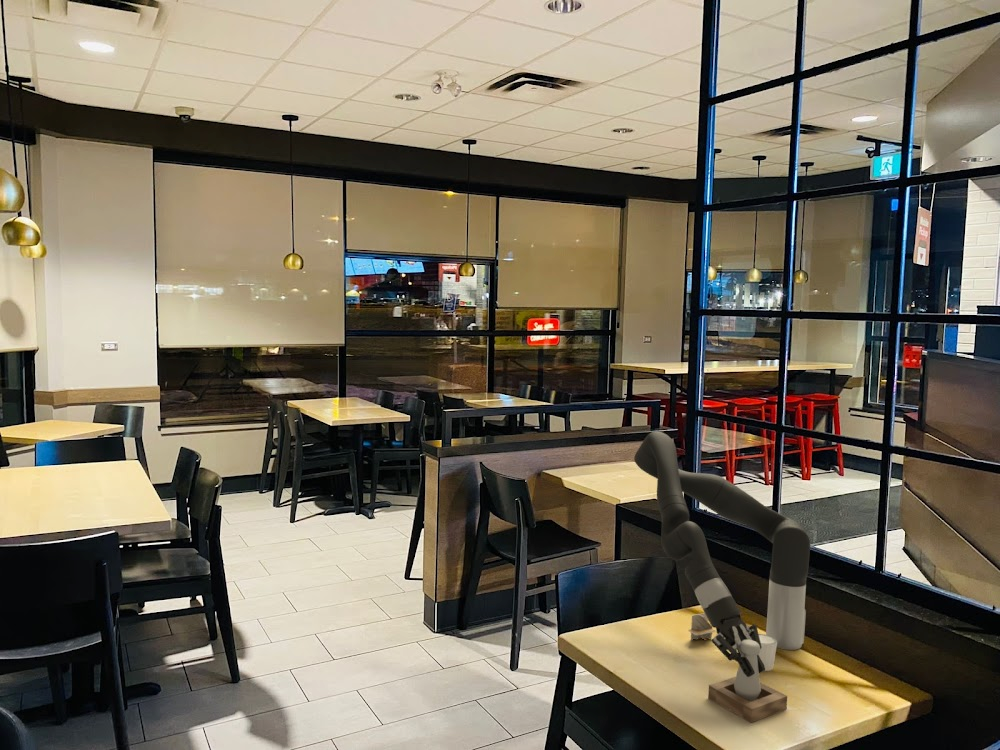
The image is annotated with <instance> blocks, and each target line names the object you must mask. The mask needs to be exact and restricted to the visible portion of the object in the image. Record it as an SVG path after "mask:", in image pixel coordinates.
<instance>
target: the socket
mask: <svg viewBox="0 0 1000 750" xmlns="http://www.w3.org/2000/svg"><path fill="white" fill-rule="evenodd" d="M735 678H736V676H733V677H731V678H727V679H724V680H721V681H718V682H715V683H712V684H709V685H708V693H707V694H708V696H707V697H708V699H709V700H711V701H713V702H715V703H716V704H718V705H720V706H721V707H723V708H725V709H727V710H729V711H730V712H732V713H734V714H736V716H738V717H740V718H743V719H744V720H746V721H748V722H749V723H753V722H757V721H760V720H762V719H764V718H767V717H769V716H772V715H774V714H777V713H780V712H782V711H784V710H787V705H788V704H787V703H788V695H786V694H785V693H783V692H780V691H779V690H776V689H775V688H773V687H771V686H769V685H766V684H765V683H763V682H761V681H760V687H761V692H760V694H759V696H758V697H757V699H756V700H755V701H752V702H749V701H747V700H745V699H744V698H742V697H740V696H738V695H737V694H736V692H735V688H734V682H735Z"/></svg>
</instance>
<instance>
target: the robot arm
mask: <svg viewBox="0 0 1000 750" xmlns="http://www.w3.org/2000/svg"><path fill="white" fill-rule="evenodd" d="M677 454H678V453H677V447H676V444H675V442H674V440H673V439H672V438H671V437H670V436H669V435H668V434H666V433H665V432H662V431H658V430H657V431H655V430H654V431H651V432H650V433H648V434H647V435H646V437H645V438H644V439H643V441H642V442H641V444H640V446H639V447H638V449H637V451H636V452H635V454H634V462H635V465H636V466H637V467H638V468H639V469H640V470H642V471H644V473H646V474H648V475H650V476H651V477H653V478H655V479H657V482H656V501H657V506H658V509H659V513H660V516H661V535H660V541H661V546H662V549H663V551H664V553H665V555H666V556H667V557H668V558H669V559H671V560H673V561H678V562H679V561H682V560H684V559H685V558H687V557H688V556H690V555H691V554H692V558H691V560H690V562H689V563H688V564H687V566H685V568H684V575H685V577H686V578H687V580H688V582H689V584H690V586H691V587H692V588H691V589H692V590H693V592H694V594H695V597H696V598H697V601H698V603H699V606H701V609H702V610H703V613H705V614H706V616H707V618H708V621H709V622H708V623H709V624H710V625H712V628H713V629H714V628H715V630H716V635H715V636H714V637H712V639H711V642H712V644H713V645H714V646H715V647H716V648H717V649H718V651H720V652H721V653H722V654H723V656H724V657H726V659H727V660H728V661H735V662H737V663H738V666H739V665H740V667H741V668H742V670H743V672H744V674H745V675H746V676H747V677H750V676H752V675H754V674H755V671H754V670H753V668H752V666H751V664H750V662H749V660H748V659H747V658H745V654H744V653H743V652H742V651H741V648H740V646H741V642H742V641H743V640H753V641H756V642H757V643H758V644H759V646H760V649H761V648H762V647H761V642H760V638H759V634H760V633H759V632H758V627H757V625H756V624H755V623H754V624H752V625H748V624H747V623H746V622H745V621H744V620H743V619H742V618H741V614H742V611H741V610H740V608H739V606H738V604H737V603H736V601H735V599H734V598H733V595H732V594H731V592H730V590H729V589H728V586H726V584H725V582H724V581H723V580H722V578H721V577H720V575H719V573H718V571H717V570H716V567H715V566H714V564H713V561H712V557H711V555H710V552H709V549H708V545H707V540H706V537H705V534H704V532H703V530H702V529H701V527H700V526H699V525H698V524H697V523H696V522H693V521H690V511H689V508H688V506H687V503H686V500H685V496H684V494H685V495H687V496H689V497H690V498H692V499H694V500H695V501H697V502H699V503H700V504H702V505H704V507H706V508H708V509H709V510H711V511H713V512H714V513H716V514H718V515H719V516H721V517H723V518H725V519H727V520H730V521H732V522H735V523H738V524H740V525H743V526H746V527H749V528H751V529H752V530H753V531H755V532H757V533H758V534H760V535H761V536H762V537H764V538H765V539H767V540H768V541H769V542H770V543H771V544H772V552H771V553H772V554H771V567H770V569H769V579H768V580H769V582H768V583H769V584H768V595H767V596H768V599H767V600H768V601H767V611H766V613H767V616H766V629H765V630H766V631H765V632H766V633H765V635H768V636H771V637H773V638H775V639H776V640H777V647H776V648H777V649H782V650H791V651H795V650H799V649H801V648H802V646H803V644H804V642H805V629H806V628H805V627H806V613H807V610H806V609H805V604H806V589H807V579H808V575H809V564H810V554H811V552H810V551H811V540H810V537H809V535H808V532H807V530H806V529H805V527H804V526H803V525H802V524H800V523H799V522H797V521H796V520H793V518H789V517H787V516H786V515H783V514H781V513H779V512H777V511H775V510H773V509H771V508H769V507H767V506H765V505H764V504H762V503H761V502H760V501H758V500H757V499H756V498H754V497H753V496H752V495H750V494H748V492H746V491H744V490H742V489H741V488H740V487H739V486H737V485H735V484H734V483H732V482H730V481H729V480H727V479H725V478H724V477H722V476H720V475H717V474H712V473H704V472H702V473H701V472H689V471H685V470H682V469H680V468H679V465H678V455H677ZM757 661H758V669H759V674H761V673H763V672H766V671H765V667H764V664H763V662H762V660H761V659H760V657H759V655H757Z"/></svg>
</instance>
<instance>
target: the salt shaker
mask: <svg viewBox="0 0 1000 750" xmlns="http://www.w3.org/2000/svg"><path fill="white" fill-rule="evenodd" d="M740 648H741V651H742V652H743V653H744V654H745V658H747V659H748V660H749V662H750V664H751V666H752V668H753V670H754V671H755V674H754V675H752V676H750V677H747V676H746V675H745V674H744V672H743V670H742V668H741V667H740V665H739V664H738V667H737V672H736V678H735V682H734V688H735V692H736V694H737V695H738V696H740V697H742V698H744V699H745V700H747V701H749V702H752V701H755V700H758V699H757V697H758V696H759V694H760V692H761V687H760V682H761V680H760V673H759V669H758V661H757V655H758V654H759V653H760V646H759V644H758V643H757V642H756V641H753V640H743V641H742V642H741V646H740Z"/></svg>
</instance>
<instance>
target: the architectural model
mask: <svg viewBox="0 0 1000 750" xmlns="http://www.w3.org/2000/svg"><path fill="white" fill-rule="evenodd" d="M708 621H709V620H708V618H707V616H706V614H705V612H703V613H697V614H692V615H691V629H688V632H690V641H694V640H693V639H696V640H698V639H697V638H702V639H701V640H703V639H704V640H703V641H705V640H706V641H707V639H709V638H710V639H711V640H712V639H713V637H712V634H713V633H717V631H716V629H714V628H713V627H712V625H711V624H710V622H708ZM707 637H708V638H707ZM710 639H709V640H710Z"/></svg>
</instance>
